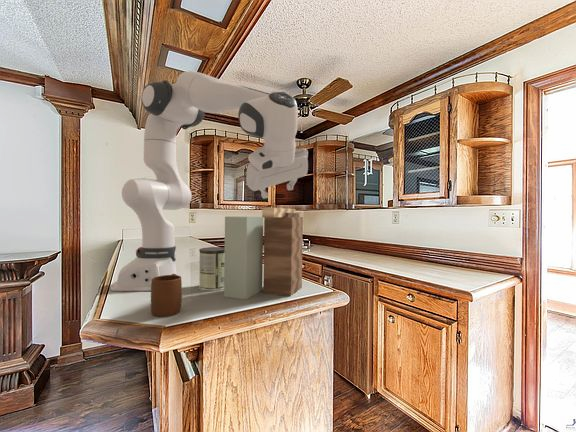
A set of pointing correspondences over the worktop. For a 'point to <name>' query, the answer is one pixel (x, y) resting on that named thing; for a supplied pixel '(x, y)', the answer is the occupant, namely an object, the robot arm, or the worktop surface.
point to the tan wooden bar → (276, 212)
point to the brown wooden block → (283, 254)
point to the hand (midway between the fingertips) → (277, 193)
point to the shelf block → (243, 256)
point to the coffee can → (212, 268)
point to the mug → (166, 295)
